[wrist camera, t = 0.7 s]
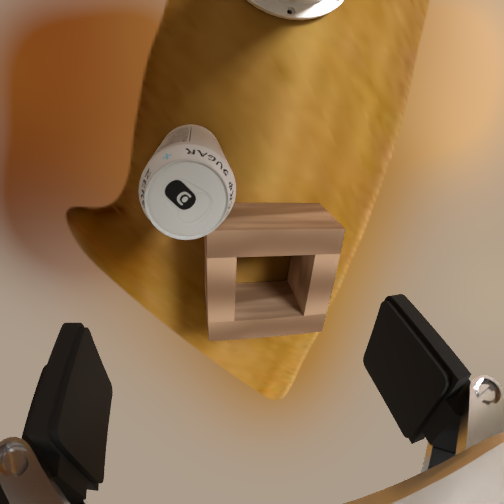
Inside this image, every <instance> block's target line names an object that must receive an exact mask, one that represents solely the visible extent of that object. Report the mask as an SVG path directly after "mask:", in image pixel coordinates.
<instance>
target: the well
mask: <svg viewBox="0 0 504 504" xmlns="http://www.w3.org/2000/svg"><path fill="white" fill-rule="evenodd" d="M344 233H345V228H344V227H343V226H342V225H341V224H340V223H339V222H338V221H337V220H336V219H335V218H334V217H333V216H332V215H331V214H330V213H329V212H328V211H327V210H326V209H325V208H324V207H323V206H322V205H320V204H316V203H234V204H233V207H232V209H231V211H230V213H229V214H228V216H227V217H226V219H225V220H224V221H223V222H222V223H221V224H220V225H219V226H218V227H217V228H216V229H215V230H214V231H212V232H211V233H209V234H208V235H205V236H204V271H205V305H206V316H207V326H208V336H209V341H217V340H234V339H248V338H261V337H273V336H283V335H293V334H303V333H312V332H320V331H322V329H323V325H324V321H325V317H326V313H327V309H328V305H329V301H330V297H331V293H332V289H333V284H334V280H335V276H336V271H337V267H338V262H339V258H340V253H341V248H342V243H343V238H344ZM262 256H291V257H290V264H289V271H288V278H287V281H271V282H251V283H236V264H237V257H262Z"/></svg>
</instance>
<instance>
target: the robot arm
mask: <svg viewBox="0 0 504 504" xmlns="http://www.w3.org/2000/svg"><path fill="white" fill-rule="evenodd" d="M247 1H248V2H249V3H251V4H252V5H253V6H255V7H256V8H258V9H260V10H262V11H264V12H266V13H267V14H270V15H273V16H276V17H279V18H284V19H289V20H309V19H315V18H318V17H321V16H324V15H326V14H328V13H330V12H332V11H333V10H335V9H336V8H338V7H339V6H340V5H341V4H342V3H343V1H344V0H247ZM287 11H290V12H291V14H288V12H287ZM363 362H364V365H365V368H366V369H367V371H368V373H369V375H370V376H371V378H372V380H373V381H374V383H375V385H376V387H377V388H378V390H379V392H380V394H381V395H382V397H383V399H384V401H385V403H386V404H387V406H388V408H389V410H390V412H391V413H392V415H393V417H394V419H395V421H396V422H397V424H398V426H399V428H400V429H401V432H402V433H403V435H404V436H405V437H406V438H409V440H410V441H411V443H412V444H413V443H415V442H417V441H419V440H422V439H424V437H426V439H427V440H428V445H427V450H426V454H425V458H424V463H423V467H422V471H421V473H420V474H418V475H416V476H414V477H412V478H410V479H408V480H405V481H403V482H401V483H398V484H396V485H394V486H391V487H389V488H386V489H384V490H381V491H379V492H376V493H373V494H371V495H368V496H365V497H362V498H360V499H357V500H354V501H351V502H348V503H344V504H504V391H503V388H502V386H501V385H500V384H499V383H498V381H497V380H495V379H494V378H492V377H490V376H487V375H479V376H476V377H475V378H473V380H472V381H471V382H470V380H469V377H470V375H471V373H470V372H469V371H468V369H467V368H466V367H465V366H464V364H463V363H462V362H461V361H460V359H459V358H458V357H457V356H456V355H455V353H454V352H453V351H452V350H451V348H450V347H449V346H448V345H447V344H446V342H445V341H444V340H443V339H442V338H441V336H440V335H439V334H438V333H437V332H436V331H435V329H434V328H433V327H432V326H431V325H430V324H429V322H428V321H427V320H426V319H425V318H424V317H423V316H422V314H421V313H420V312H419V311H418V310H417V309H416V308H415V307H414V305H413V304H412V303H411V302H410V301H409V300H408V299H407V298H406V297H405V296H404V295H403V294H399V295H393V296H388V297H386V299H385V301H384V302H382V303H381V306H380V309H379V312H378V316H377V319H376V322H375V325H374V328H373V331H372V334H371V337H370V340H369V343H368V346H367V349H366V352H365V354H364V358H363ZM111 399H112V386H111V382H110V380H109V378H108V376H107V373H106V371H105V369H104V366H103V364H102V361H101V359H100V356H99V354H98V351H97V349H96V346H95V344H94V341H93V339H92V336H91V333H90V331H89V329H88V328H84V326H83V324H82V323H64V324H63V325H62V328H61V330H60V333H59V335H58V338H57V340H56V342H55V345H54V348H53V350H52V353H51V356H50V358H49V361H48V364H47V365H46V366H45V367H44V368H43V370H42V373H41V376H40V379H39V382H38V385H37V387H36V391H35V394H34V397H33V400H32V403H31V407H30V410H29V413H28V417H27V420H26V424H25V428H24V431H23V435H22V439H21V438H18V437H9V438H6V439H4V440H2V441H1V442H0V504H88V502H87V501H86V490H87V489H89V490H97V491H98V484H99V483H102V482H103V479H104V465H105V452H106V442H107V431H108V423H109V415H110V407H111Z"/></svg>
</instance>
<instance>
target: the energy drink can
mask: <svg viewBox="0 0 504 504" xmlns="http://www.w3.org/2000/svg"><path fill="white" fill-rule="evenodd" d="M138 193H139V200H140V204H141V207H142V209H143V211H144V213H145V215H146V216H147V218H148V219H149V220H150V221H151V223H152V224H153V225H154V226H155V227H156V228H157V229H158V230H159V231H160V232H162V233H163V234H165V235H167V236H169V237H171V238H175V239H180V240H192V239H197V238H201V237H203V236H205V235H208V234H209V233H211V232H212V231H214V230H215V229H216V228H217V227H218V226H219V225H220V224H221V223H222V222H223V221H224V220H225V219H226V217H227V216H228V214H229V213H230V211H231V209H232V207H233V204H234V202H235V196H236V182H235V178H234V174H233V172H232V170H231V168H230V166H229V164H228V162H227V160H226V158H225V156H224V153H223V151H222V149H221V147H220V145H219V143H218V141H217V139H216V137H215V136H214V135H213V133H211V132H210V131H209V130H208V129H206V128H204V127H202V126H199V125H193V124H188V125H182V126H179V127H177V128H175V129H173V130H172V131H171V132H169V133H168V134H167V136H166V137H165V138H164V139H163V141H162V142H161V144H160V145H159V147H158V148H157V150H156V151H155V153H154V154H153V156H152V157H151V159H150V160H149V162H148V163H147V165H146V167H145V169H144V171H143V173H142V175H141V178H140V182H139V192H138Z"/></svg>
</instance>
